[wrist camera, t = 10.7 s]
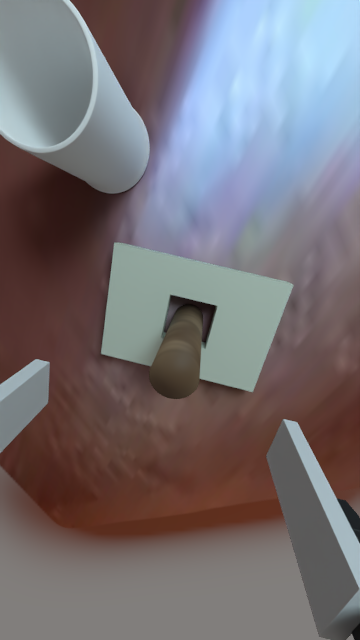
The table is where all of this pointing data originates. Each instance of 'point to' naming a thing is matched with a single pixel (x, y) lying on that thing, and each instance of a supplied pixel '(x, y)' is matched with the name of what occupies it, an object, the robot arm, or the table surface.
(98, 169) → the mug
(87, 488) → the table surface
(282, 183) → the table surface
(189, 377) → the peg
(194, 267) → the socket board
